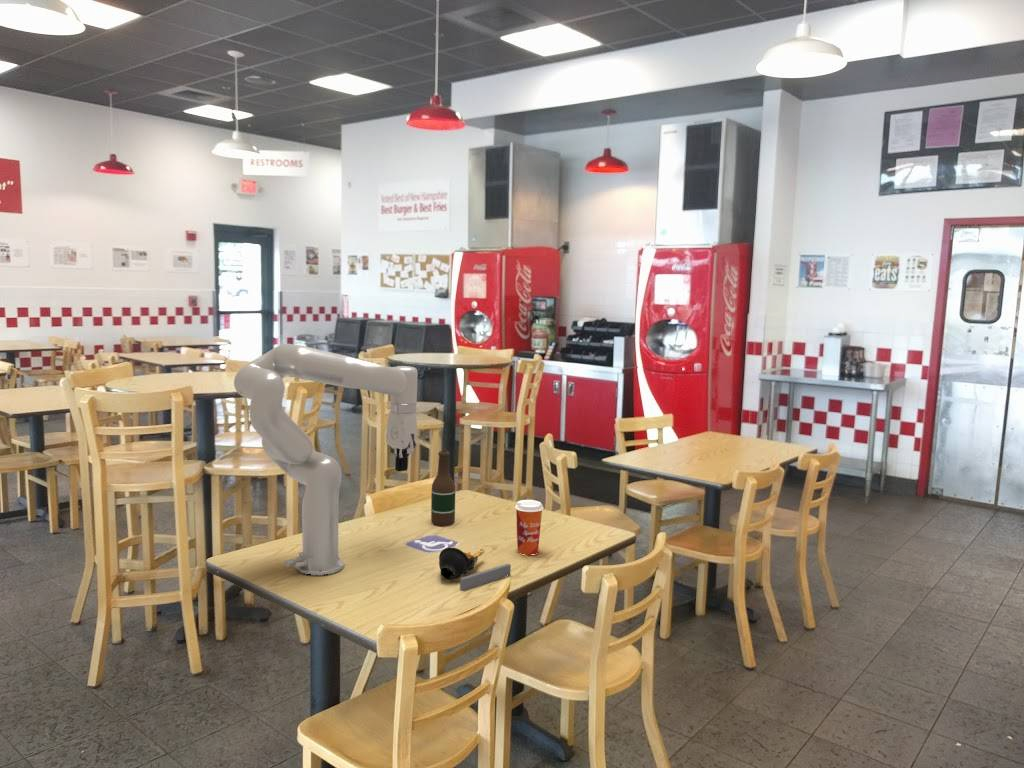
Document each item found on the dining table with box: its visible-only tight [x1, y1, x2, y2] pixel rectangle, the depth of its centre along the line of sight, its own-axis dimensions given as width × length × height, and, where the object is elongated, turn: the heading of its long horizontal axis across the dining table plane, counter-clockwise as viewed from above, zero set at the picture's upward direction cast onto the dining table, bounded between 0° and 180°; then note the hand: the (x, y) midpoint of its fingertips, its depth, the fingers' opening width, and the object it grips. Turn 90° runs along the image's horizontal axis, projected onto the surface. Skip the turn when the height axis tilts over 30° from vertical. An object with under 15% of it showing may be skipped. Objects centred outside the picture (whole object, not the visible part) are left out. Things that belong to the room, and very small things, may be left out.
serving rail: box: [459, 563, 512, 591], centre depth 202 cm, size 17×1×3 cm, turn 133°
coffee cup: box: [515, 499, 544, 555], centre depth 224 cm, size 8×8×15 cm
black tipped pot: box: [438, 547, 485, 581], centre depth 208 cm, size 9×11×18 cm
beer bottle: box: [430, 450, 456, 528], centre depth 248 cm, size 8×8×24 cm
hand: (401, 470), depth 224 cm, fingers closed
